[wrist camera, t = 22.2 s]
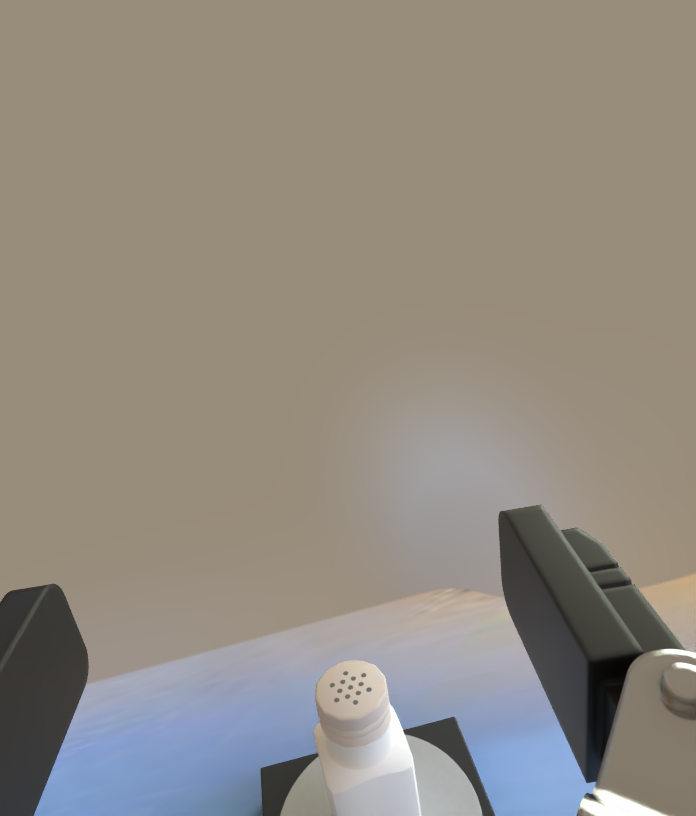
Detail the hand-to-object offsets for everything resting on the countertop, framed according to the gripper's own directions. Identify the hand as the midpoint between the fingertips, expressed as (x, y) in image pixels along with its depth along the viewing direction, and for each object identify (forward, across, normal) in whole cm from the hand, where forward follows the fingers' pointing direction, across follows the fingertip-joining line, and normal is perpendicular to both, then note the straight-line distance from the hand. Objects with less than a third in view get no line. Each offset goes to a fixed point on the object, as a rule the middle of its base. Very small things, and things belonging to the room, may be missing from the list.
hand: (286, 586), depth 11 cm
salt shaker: (+11, 0, +24) cm, 27 cm away
